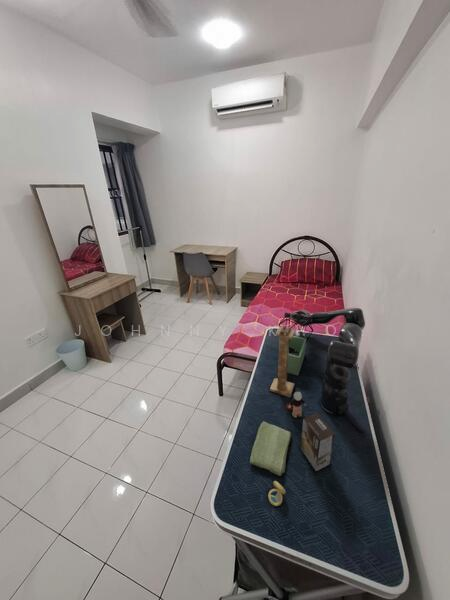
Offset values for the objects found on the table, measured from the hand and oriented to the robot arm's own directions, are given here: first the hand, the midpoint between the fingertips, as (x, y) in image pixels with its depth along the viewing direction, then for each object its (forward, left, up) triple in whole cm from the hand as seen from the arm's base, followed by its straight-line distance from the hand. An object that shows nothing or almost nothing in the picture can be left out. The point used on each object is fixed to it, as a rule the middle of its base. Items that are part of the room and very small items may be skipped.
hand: (296, 316), depth 124 cm
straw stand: (-14, +17, -28) cm, 36 cm away
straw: (-1, +2, -27) cm, 27 cm away
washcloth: (-38, +39, -28) cm, 61 cm away
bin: (-2, +2, -28) cm, 28 cm away
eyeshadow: (-52, +46, -28) cm, 75 cm away
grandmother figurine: (-30, +21, -28) cm, 46 cm away
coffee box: (-47, +26, -28) cm, 61 cm away
